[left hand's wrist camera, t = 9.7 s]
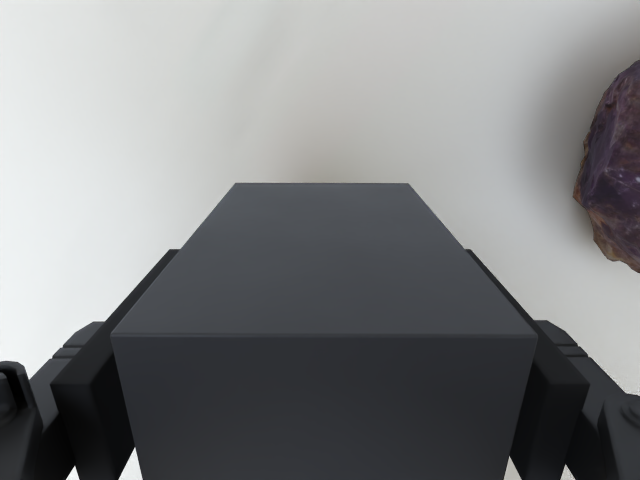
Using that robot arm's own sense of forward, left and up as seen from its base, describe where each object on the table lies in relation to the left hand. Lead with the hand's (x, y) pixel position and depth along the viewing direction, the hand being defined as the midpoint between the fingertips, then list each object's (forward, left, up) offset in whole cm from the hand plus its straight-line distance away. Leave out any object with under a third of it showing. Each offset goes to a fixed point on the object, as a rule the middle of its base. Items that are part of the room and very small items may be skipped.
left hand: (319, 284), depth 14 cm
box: (+9, 0, -1) cm, 9 cm away
